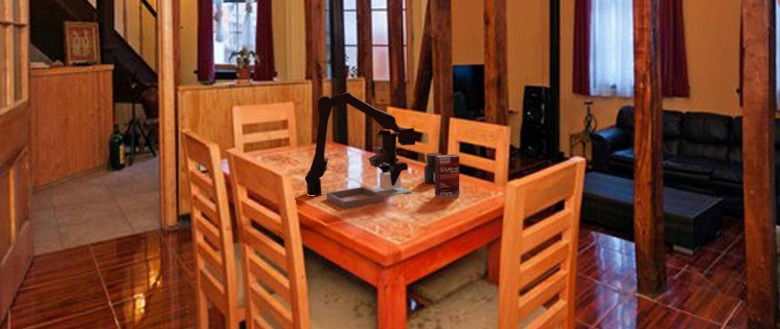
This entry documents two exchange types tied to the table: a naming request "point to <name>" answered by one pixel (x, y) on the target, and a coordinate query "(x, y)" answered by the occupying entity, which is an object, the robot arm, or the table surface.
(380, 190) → the mat
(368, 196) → the grey square tray
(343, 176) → the table surface
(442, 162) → the supplement box
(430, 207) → the table surface
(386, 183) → the block
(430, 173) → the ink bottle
